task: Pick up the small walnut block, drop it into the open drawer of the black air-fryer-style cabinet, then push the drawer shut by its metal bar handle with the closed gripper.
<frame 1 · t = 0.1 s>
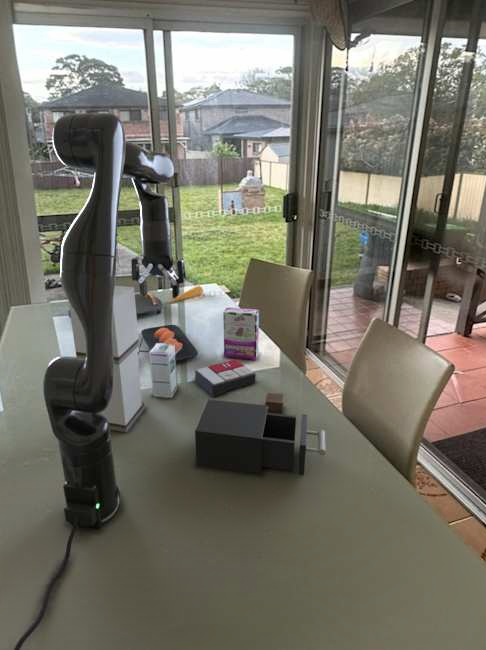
hand: (160, 296, 118), 29 cm above the table, tool pointing down, fingers open, 8 cm apart
cabinet: (233, 452, 103), on the table
sushi plate: (147, 350, 154), on the table
tall white pillar: (116, 417, 117), on the table
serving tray: (117, 313, 187), on the table
block: (274, 412, 118), on the table
candy bar box: (241, 356, 149), on the table
drawer: (284, 441, 99), point 5 cm above the table, slide at 8.0 cm
calculator: (225, 382, 133), on the table
carrot: (184, 298, 203), on the table
syrup box: (165, 392, 128), on the table
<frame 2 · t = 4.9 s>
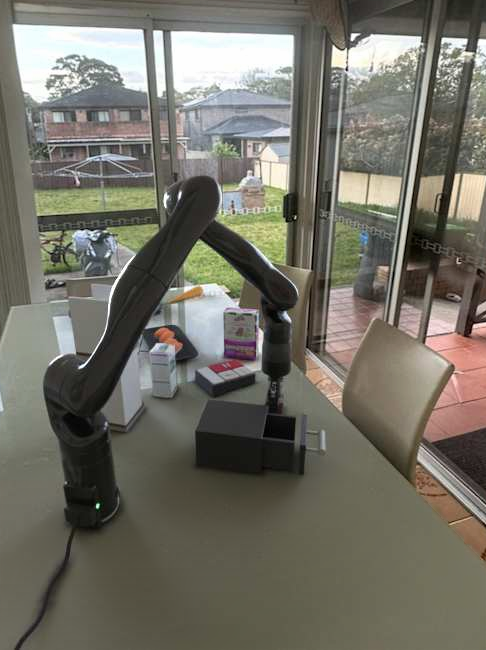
hand: (274, 411, 118), 0 cm above the table, tool pointing down, fingers closed on block, 4 cm apart
block: (274, 412, 118), on the table, touching gripper
everything else where it was.
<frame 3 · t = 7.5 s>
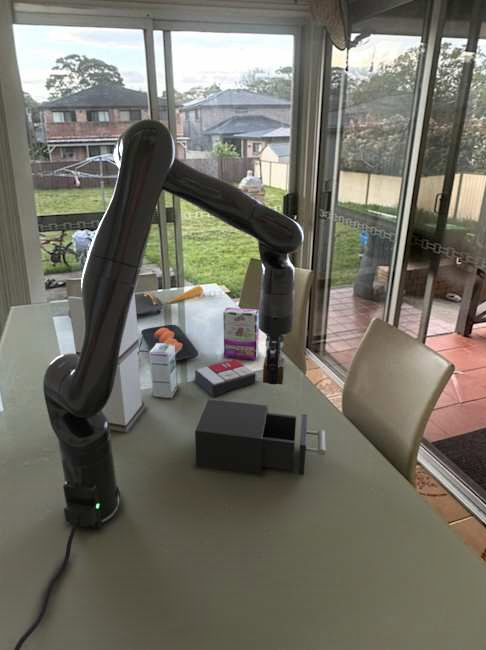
hand: (273, 377, 102), 17 cm above the table, tool pointing down, fingers closed on block, 4 cm apart
block: (273, 378, 102), point 16 cm above the table, touching gripper
everything else where it was.
when the fingers open (10 cm above the table, at t = 10.1 s): block drops 5 cm and tips over, resting on drawer.
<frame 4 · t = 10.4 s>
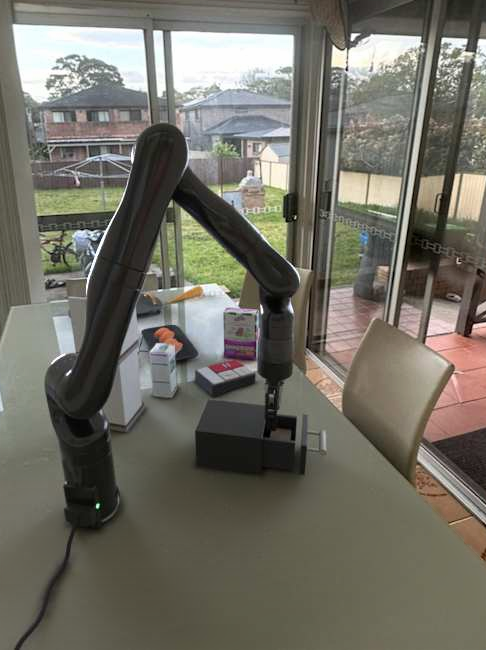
hand: (272, 418, 98), 10 cm above the table, tool pointing down, fingers open, 7 cm apart
block: (270, 441, 100), point 4 cm above the table, tilted 91°, touching drawer
drawer: (285, 441, 99), point 5 cm above the table, slide at 8.2 cm, touching block
everything else where it was.
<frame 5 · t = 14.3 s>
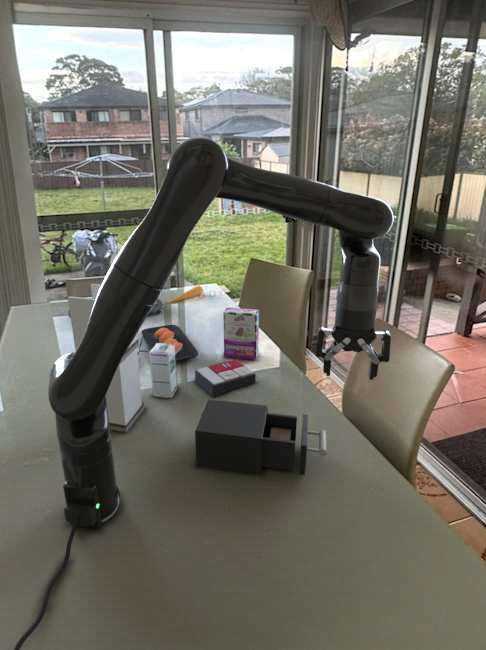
hand: (349, 376, 91), 23 cm above the table, tool pointing down, fingers open, 8 cm apart
nothing on the table moved.
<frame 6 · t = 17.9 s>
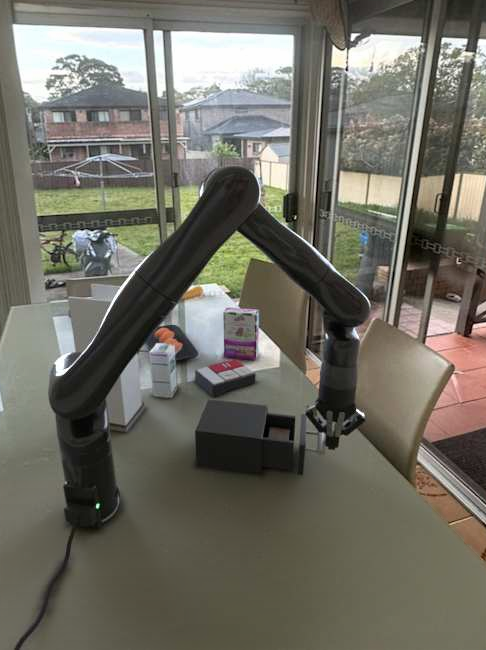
hand: (331, 447, 97), 5 cm above the table, tool pointing down, fingers closed
drawer: (284, 441, 99), point 5 cm above the table, slide at 7.8 cm, touching block, gripper
everything else where it was.
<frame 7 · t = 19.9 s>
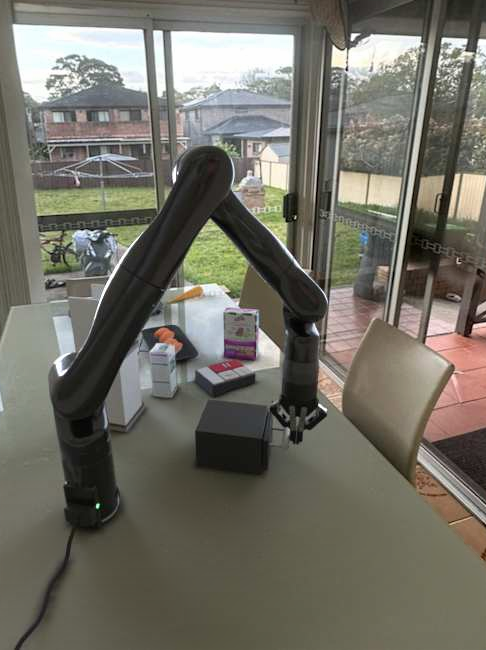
hand: (296, 442, 99), 5 cm above the table, tool pointing down, fingers closed
block: (235, 437, 102), point 4 cm above the table, tilted 90°, touching drawer
drawer: (250, 437, 101), point 5 cm above the table, slide at 0.2 cm, touching block
everything else where it was.
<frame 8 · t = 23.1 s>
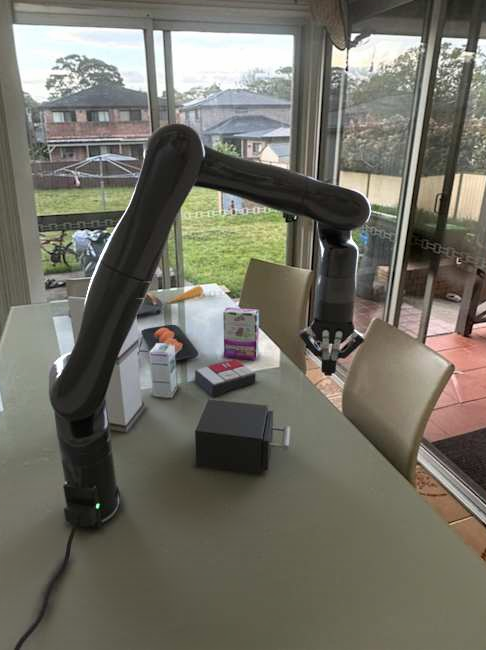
hand: (328, 373, 91), 23 cm above the table, tool pointing down, fingers closed
nothing on the table moved.
at the end: drawer slide at 0.2 cm; block inside the target area in the cabinet (0.5 cm from its centre), point 4.2 cm above the cabinet's base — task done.
